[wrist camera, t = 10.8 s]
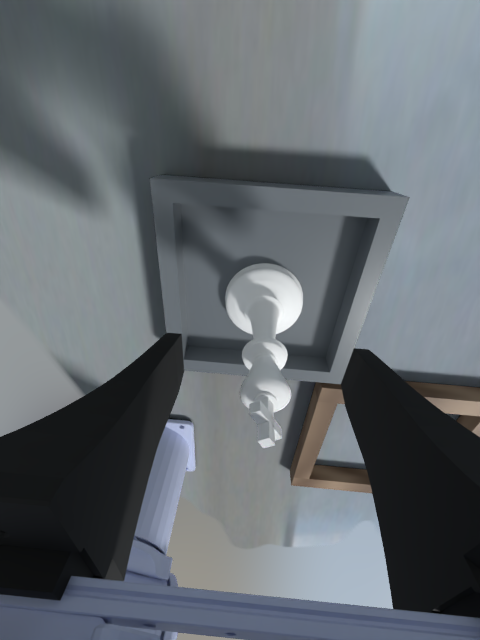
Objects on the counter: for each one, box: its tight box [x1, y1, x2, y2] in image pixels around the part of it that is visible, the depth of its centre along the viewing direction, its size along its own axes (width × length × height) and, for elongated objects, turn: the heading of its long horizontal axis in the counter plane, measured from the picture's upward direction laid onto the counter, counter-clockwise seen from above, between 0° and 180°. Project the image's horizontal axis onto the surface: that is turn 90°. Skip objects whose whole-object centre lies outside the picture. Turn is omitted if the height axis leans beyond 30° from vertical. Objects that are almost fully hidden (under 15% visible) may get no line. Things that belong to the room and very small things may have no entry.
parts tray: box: [150, 175, 410, 384], centre depth 17 cm, size 12×12×2 cm
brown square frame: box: [290, 381, 480, 493], centre depth 24 cm, size 14×14×2 cm
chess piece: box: [225, 263, 303, 448], centre depth 13 cm, size 5×5×10 cm
